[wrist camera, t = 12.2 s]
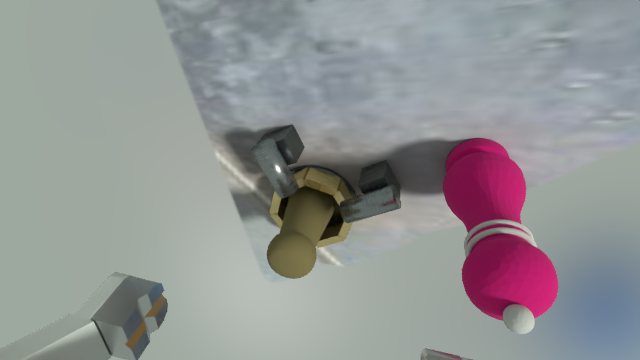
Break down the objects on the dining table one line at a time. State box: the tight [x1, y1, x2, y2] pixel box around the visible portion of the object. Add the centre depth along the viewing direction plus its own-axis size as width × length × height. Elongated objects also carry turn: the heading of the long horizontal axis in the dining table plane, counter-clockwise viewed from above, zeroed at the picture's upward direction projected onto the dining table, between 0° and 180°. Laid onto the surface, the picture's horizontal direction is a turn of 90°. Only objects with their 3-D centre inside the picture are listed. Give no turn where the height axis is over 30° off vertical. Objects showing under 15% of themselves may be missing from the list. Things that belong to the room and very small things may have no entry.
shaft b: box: [340, 161, 401, 224], centre depth 40 cm, size 6×4×6 cm, turn 120°
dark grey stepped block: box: [251, 125, 304, 198], centre depth 40 cm, size 6×4×6 cm, turn 25°
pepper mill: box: [443, 139, 558, 334], centre depth 30 cm, size 7×7×20 cm
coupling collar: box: [269, 166, 356, 248], centre depth 44 cm, size 10×10×3 cm
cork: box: [267, 186, 336, 279], centre depth 41 cm, size 6×6×11 cm
